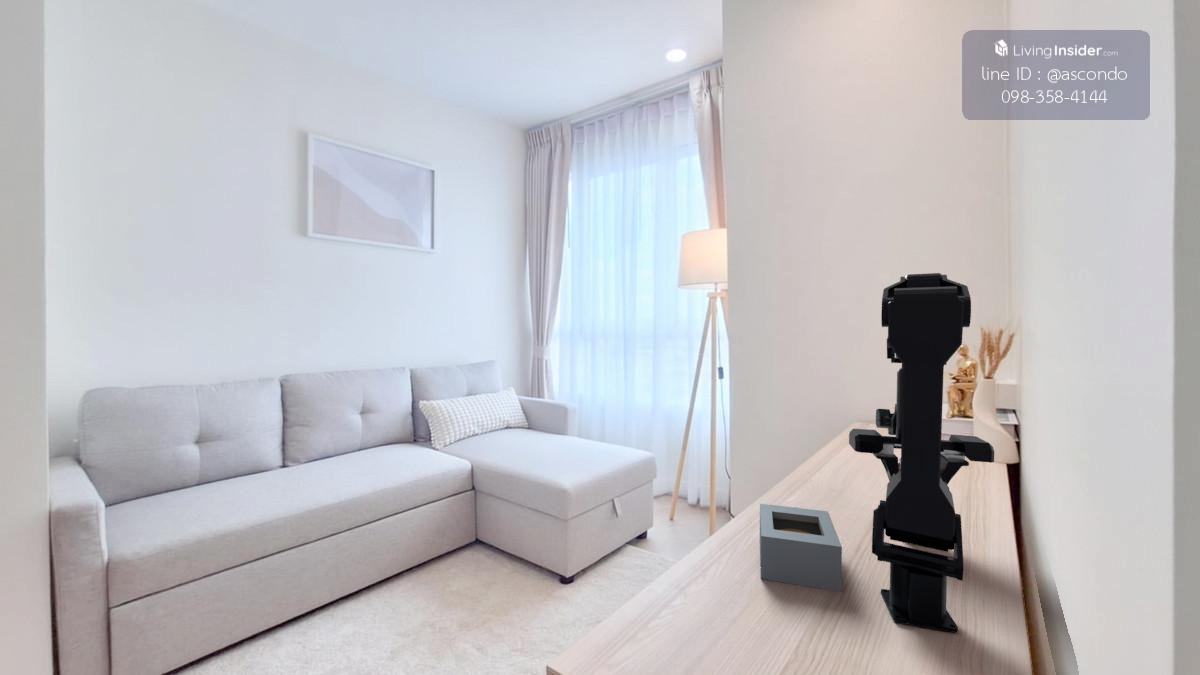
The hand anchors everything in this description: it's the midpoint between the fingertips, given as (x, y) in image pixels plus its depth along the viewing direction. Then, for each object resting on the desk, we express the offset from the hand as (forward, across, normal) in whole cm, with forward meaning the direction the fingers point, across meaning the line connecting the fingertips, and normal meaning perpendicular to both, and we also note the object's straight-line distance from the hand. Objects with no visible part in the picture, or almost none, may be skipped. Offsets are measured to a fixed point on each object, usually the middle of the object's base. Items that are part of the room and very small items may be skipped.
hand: (915, 496), depth 76 cm
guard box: (+7, +19, +14) cm, 25 cm away
